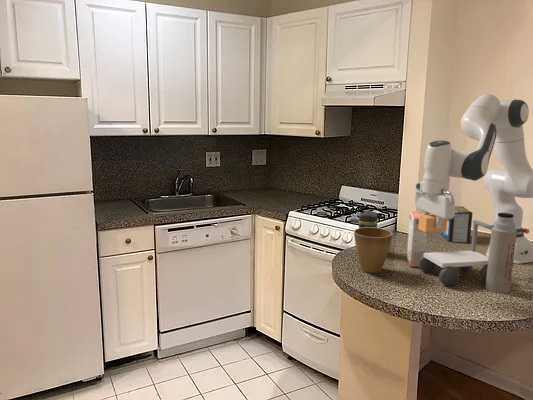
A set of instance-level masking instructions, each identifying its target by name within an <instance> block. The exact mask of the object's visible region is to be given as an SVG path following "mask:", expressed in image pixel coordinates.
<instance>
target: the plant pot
mask: <svg viewBox="0 0 533 400" xmlns="http://www.w3.org/2000/svg"><path fill="white" fill-rule="evenodd" d="M353 236H354V237H353V238H354V244H355V250H356V254H357V259H358V261H359V262H358V263H359V266H360V268H361V270H362V272H365V273H369V274H370V273H371V274H374V273H375V274H376V273H380V272H381V270H382V268H383V266H384V264H385V262H386V259H387V257H388V252H389V251H390V246H391V242H392V238H393V232H392V231H390V230H388V229H386V228H385V229H384V228H380V227H377V228H373V227H365V228H359V227H358V228H356V229H354V230H353Z"/></svg>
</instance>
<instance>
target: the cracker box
mask: <svg viewBox="0 0 533 400" xmlns="http://www.w3.org/2000/svg"><path fill="white" fill-rule="evenodd" d="M409 213H410V214H409V223H408V236H407V237H408V238H407V245H406V246H407V248H406V259H407V263H408V265H409V267H412V268H414V267H415V268H419V267H418V260H419V259H420V257H421V256H423V255H424V253H426V246H427V235H428V232H424V231H422V230H420V229H418V224H419V215H423V212H422V211H410V212H409Z"/></svg>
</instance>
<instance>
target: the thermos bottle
mask: <svg viewBox="0 0 533 400" xmlns="http://www.w3.org/2000/svg"><path fill="white" fill-rule="evenodd" d="M490 232H491V233H490V242H489V245H490V249H489V259H488V268H487V277H486V282H485V288H486V290H488V291H490V292H494V293H498V294H499V293H500V294H507V293H510V291H511V285H512V284H511V283H512V275H513V268H514V267H513V266H514V263H513V260H514V251H515V243H516V235H517V230H515V224H514V223H513V214H509V213H498V220H497V221H496V222H495V223H494V227H492V231H491V230H490Z"/></svg>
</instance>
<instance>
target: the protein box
mask: <svg viewBox="0 0 533 400" xmlns="http://www.w3.org/2000/svg"><path fill="white" fill-rule="evenodd" d="M472 223H473V212H472V211H470V210H469V209H467V208H466V207H465V206H461V205H460V206H459V205H457V206H456V205H455V216H454V218H453V219H447V227H446V231H443V232H440V235H441V236H442V237H443V238H444V240H446V242H448V243H464V244H470V243H471V236H472V235H471V233H472V225H473V224H472Z"/></svg>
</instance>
